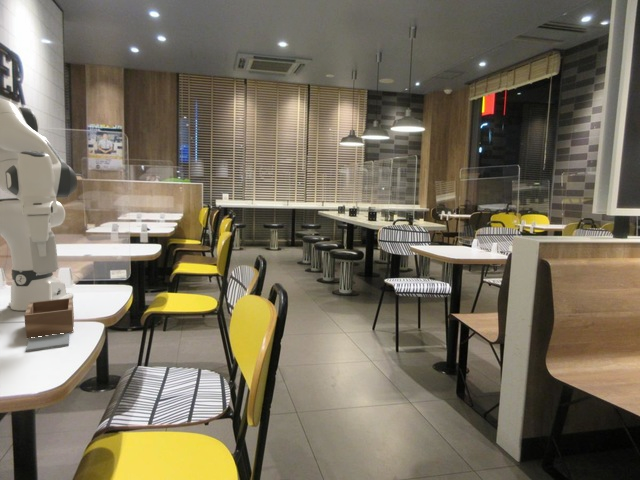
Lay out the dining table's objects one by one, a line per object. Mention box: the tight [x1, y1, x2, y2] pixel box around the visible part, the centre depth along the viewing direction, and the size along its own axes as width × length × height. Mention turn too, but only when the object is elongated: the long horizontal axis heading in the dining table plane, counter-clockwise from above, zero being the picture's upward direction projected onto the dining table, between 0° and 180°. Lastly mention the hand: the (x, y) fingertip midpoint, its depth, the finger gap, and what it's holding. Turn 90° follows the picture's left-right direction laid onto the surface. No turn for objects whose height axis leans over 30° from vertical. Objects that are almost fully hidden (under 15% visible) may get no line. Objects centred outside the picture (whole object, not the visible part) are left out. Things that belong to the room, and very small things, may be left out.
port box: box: [23, 297, 75, 339], centre depth 138 cm, size 16×12×7 cm
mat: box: [25, 333, 70, 353], centre depth 125 cm, size 10×10×1 cm
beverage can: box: [30, 230, 59, 274], centre depth 129 cm, size 6×6×12 cm
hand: (44, 254), depth 129 cm, fingers closed on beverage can, 6 cm apart
